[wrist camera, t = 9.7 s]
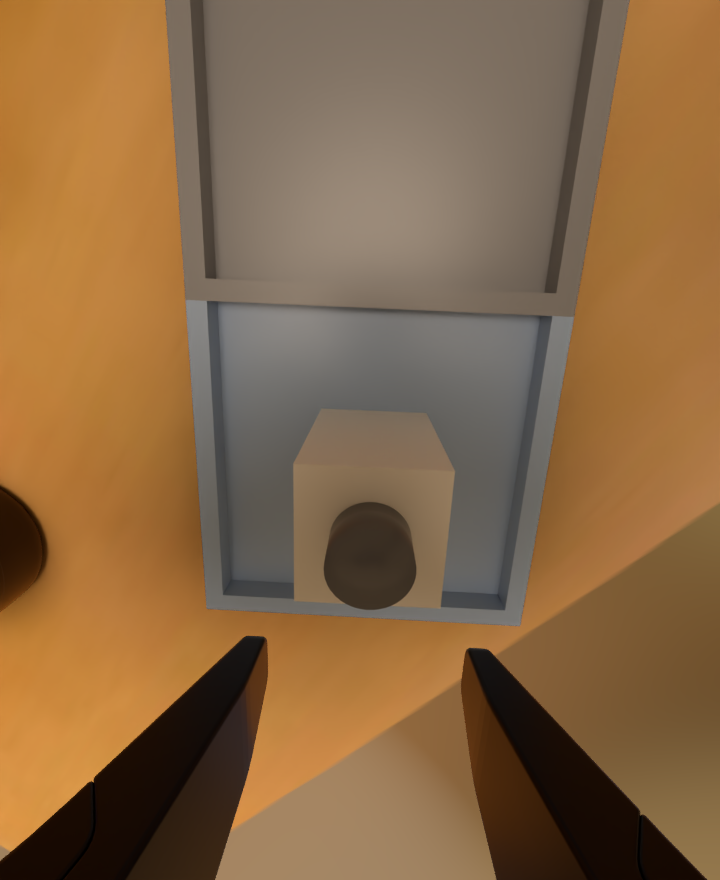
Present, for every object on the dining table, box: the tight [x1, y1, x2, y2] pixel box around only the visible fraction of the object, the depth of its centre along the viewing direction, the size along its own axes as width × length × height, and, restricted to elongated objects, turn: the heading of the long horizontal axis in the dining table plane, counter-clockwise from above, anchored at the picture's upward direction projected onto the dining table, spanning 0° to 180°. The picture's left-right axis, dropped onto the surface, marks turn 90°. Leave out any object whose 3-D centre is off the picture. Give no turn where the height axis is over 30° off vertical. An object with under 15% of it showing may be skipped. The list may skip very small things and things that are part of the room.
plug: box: [293, 409, 455, 610], centre depth 16 cm, size 4×4×9 cm
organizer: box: [165, 0, 629, 626], centre depth 17 cm, size 15×28×2 cm, turn 178°
